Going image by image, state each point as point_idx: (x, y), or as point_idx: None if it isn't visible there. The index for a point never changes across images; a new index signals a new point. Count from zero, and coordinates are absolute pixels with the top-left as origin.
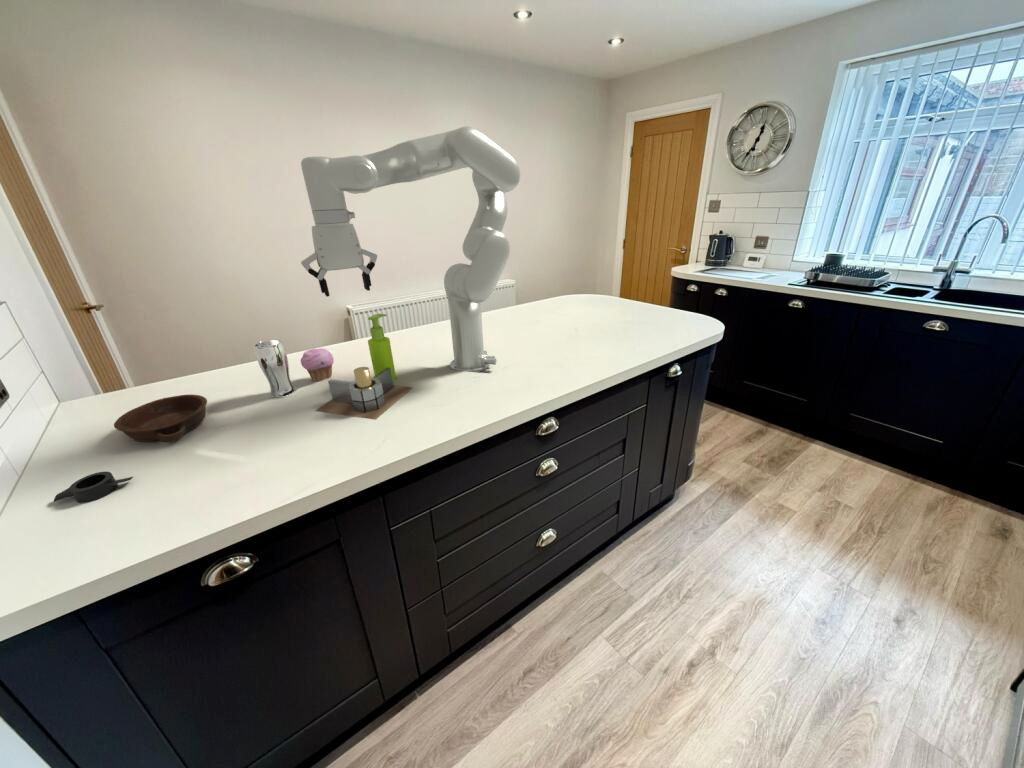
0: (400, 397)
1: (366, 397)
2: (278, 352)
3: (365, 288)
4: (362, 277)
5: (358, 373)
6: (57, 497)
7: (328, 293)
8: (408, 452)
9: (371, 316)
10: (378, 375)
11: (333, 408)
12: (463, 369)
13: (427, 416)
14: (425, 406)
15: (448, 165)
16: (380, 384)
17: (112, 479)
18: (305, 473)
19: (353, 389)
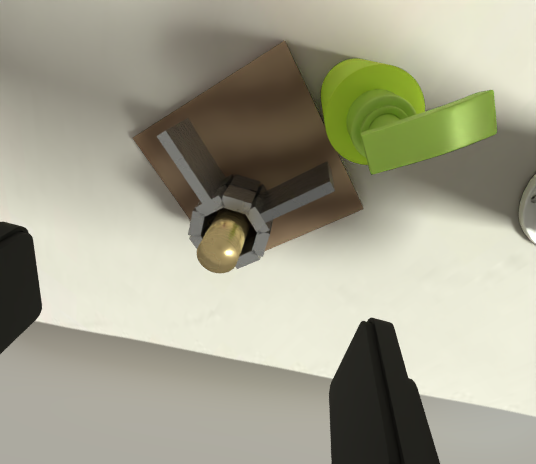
0: (308, 229)
1: None
2: None
3: (348, 354)
4: (379, 424)
5: (203, 265)
6: None
7: (22, 325)
8: (226, 355)
9: (387, 133)
10: (280, 213)
11: (171, 161)
12: (533, 225)
13: (305, 308)
14: (328, 280)
15: None
16: (257, 259)
17: None
18: (97, 299)
19: (195, 239)
